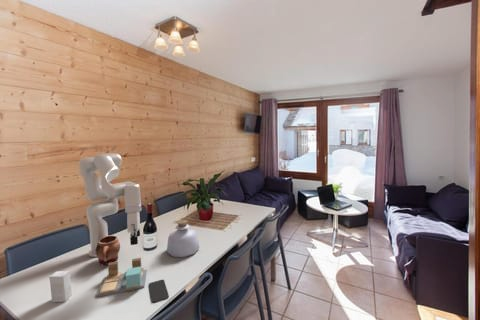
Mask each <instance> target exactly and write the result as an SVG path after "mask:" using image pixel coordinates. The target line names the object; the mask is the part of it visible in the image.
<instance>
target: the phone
mask: <svg viewBox="0 0 480 320" xmlns="http://www.w3.org/2000/svg"><path fill="white" fill-rule="evenodd" d="M148 291H149V295H150V296H149V297H150V300H151V303H152V304H155V303H159V302H162V301H165V300H168V299H169V298H170V296H169V292H168V288H167V285H166V282H165V280H164V279H159V280H156V281H152V282H149V283H148Z"/></svg>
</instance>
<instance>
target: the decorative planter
mask: <svg viewBox="0 0 480 320" xmlns="http://www.w3.org/2000/svg"><path fill="white" fill-rule="evenodd" d="M119 241H120V240H119V239H118V236H117V235H113V234H110V235H109V234H108V236H106V237H103V238H101V239H100V240H99V241H98V244H97V247H96V255H97V257H96V258H97V259H98V262H99V265H101V266H105V265H106V266H108V264H109V263H111V262H117V261H118V260H119V253H120V249H121V244H120V242H119Z"/></svg>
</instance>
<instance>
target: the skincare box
mask: <svg viewBox="0 0 480 320" xmlns="http://www.w3.org/2000/svg"><path fill="white" fill-rule="evenodd" d="M48 278H49V285H50V294H51V295H50V296H51V303H57V302H58V303H66V302H67V301H68V300H69V299H70V298H71V297H72V296H73V293H72V292H73V291H72V285H71V275H70V271H69V270H66V271H65V270H63V271H59V270H58V271H55V272H54V273H53V274H51V275H49V277H48Z"/></svg>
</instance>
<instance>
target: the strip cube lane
mask: <svg viewBox="0 0 480 320" xmlns="http://www.w3.org/2000/svg"><path fill="white" fill-rule="evenodd" d="M136 267H141V274H142V276H143V270H145V269H144V267H143V268H142V258H141V257H136V258H132V260H131V268H136ZM141 282H142V279H141ZM138 287H141V285H140V286H135V287H130V288H126V289H127V290H128V289H133V288H138Z"/></svg>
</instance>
